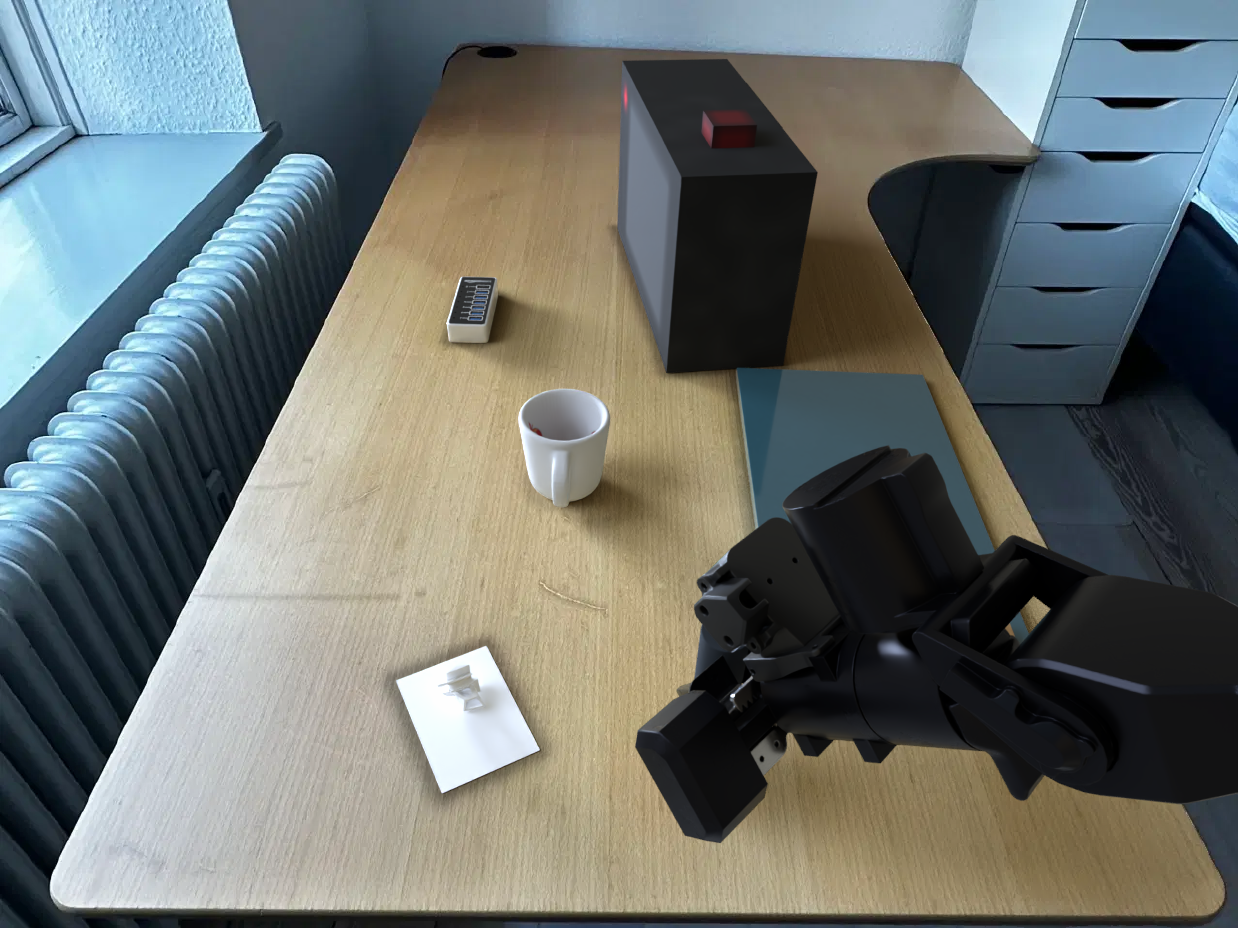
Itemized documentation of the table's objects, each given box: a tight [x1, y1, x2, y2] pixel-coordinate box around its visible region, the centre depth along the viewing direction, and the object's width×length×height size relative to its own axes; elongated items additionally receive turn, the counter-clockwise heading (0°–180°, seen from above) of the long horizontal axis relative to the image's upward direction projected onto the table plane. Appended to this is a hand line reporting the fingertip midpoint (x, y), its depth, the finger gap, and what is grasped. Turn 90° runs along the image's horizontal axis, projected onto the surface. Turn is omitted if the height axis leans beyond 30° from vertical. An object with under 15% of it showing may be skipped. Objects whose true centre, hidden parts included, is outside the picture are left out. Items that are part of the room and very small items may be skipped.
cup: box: [518, 388, 611, 508], centre depth 79 cm, size 11×8×8 cm
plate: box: [735, 367, 1030, 644], centre depth 81 cm, size 38×20×1 cm, turn 179°
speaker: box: [616, 58, 819, 374], centre depth 103 cm, size 15×35×24 cm, turn 9°
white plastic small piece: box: [437, 664, 486, 712], centre depth 63 cm, size 3×3×3 cm
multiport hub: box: [446, 276, 499, 344], centre depth 103 cm, size 4×11×2 cm, turn 179°
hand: (698, 680), depth 54 cm, fingers closed on sponge wand, 3 cm apart
